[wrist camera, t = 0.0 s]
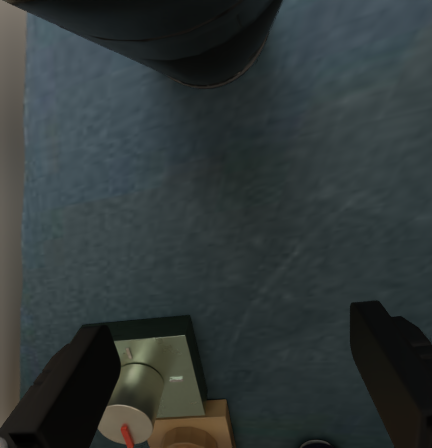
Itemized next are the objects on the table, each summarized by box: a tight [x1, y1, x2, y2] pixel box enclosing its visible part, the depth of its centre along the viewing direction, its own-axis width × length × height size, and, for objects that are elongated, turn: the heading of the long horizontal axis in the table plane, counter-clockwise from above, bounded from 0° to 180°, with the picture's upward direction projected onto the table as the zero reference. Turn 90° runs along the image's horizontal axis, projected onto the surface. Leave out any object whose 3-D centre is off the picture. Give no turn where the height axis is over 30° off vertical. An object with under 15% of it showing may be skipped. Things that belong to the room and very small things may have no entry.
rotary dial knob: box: [98, 364, 164, 448], centre depth 28 cm, size 5×5×5 cm
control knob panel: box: [70, 315, 207, 418], centre depth 32 cm, size 11×12×3 cm
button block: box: [147, 399, 236, 448], centre depth 35 cm, size 9×10×4 cm
